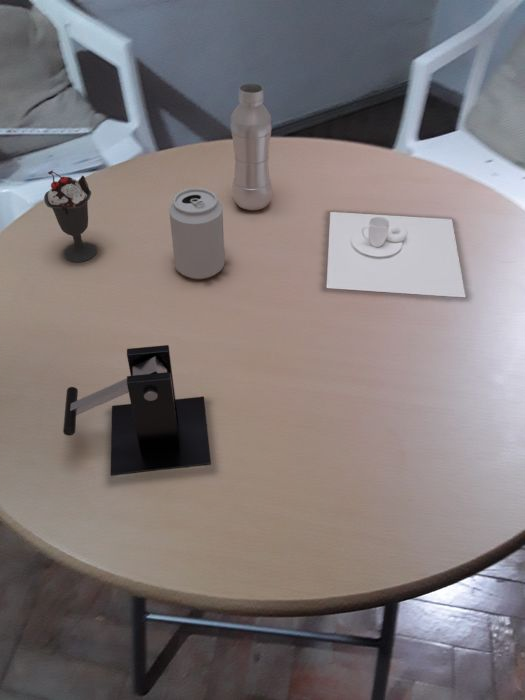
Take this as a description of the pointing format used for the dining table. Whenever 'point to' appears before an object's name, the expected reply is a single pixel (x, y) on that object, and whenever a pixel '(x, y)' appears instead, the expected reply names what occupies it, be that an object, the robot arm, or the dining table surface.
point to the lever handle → (103, 394)
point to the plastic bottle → (251, 148)
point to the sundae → (72, 214)
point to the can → (197, 233)
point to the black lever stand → (157, 422)
